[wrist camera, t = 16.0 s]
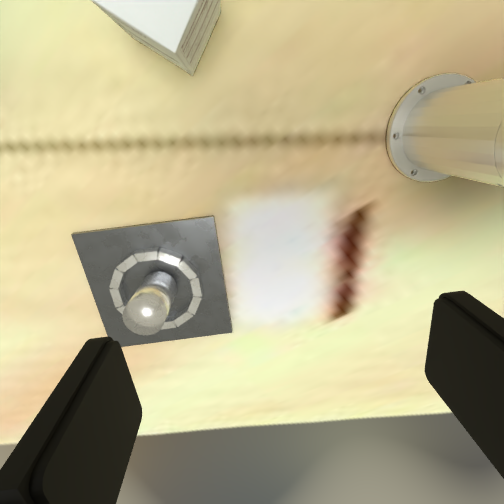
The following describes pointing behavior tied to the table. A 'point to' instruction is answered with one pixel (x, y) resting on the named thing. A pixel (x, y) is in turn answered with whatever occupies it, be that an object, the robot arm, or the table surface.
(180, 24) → the supplement box
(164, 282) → the piston
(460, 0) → the table surface
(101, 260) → the ring mat
